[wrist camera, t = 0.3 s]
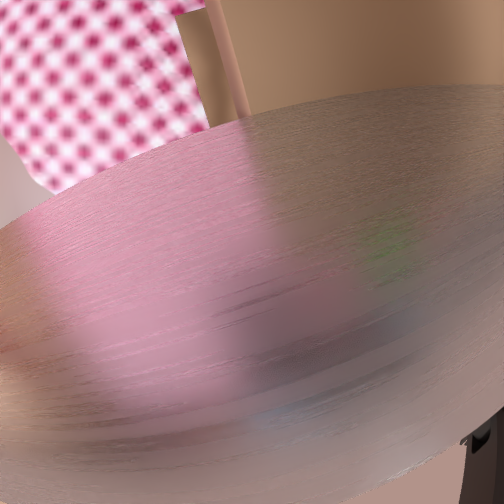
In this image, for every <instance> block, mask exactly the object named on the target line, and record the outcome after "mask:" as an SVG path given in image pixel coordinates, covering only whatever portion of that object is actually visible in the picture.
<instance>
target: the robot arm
mask: <svg viewBox="0 0 504 504" xmlns="http://www.w3.org/2000/svg"><path fill="white" fill-rule="evenodd" d="M466 440H467V441H466ZM465 441H466V443H465V445H467V451H466V460H465V469H464V476H463V483H462V489H461V494H460V500H459V504H504V406H503V407H502V408H501V409H500V410H499V411H498V412H496V413H495V414H494V415H493V416H492V417H490V418H489V419H488V420H487V421H485V422H484V423H483V424H482V425H480V426H479V427H478V428H477V429H475V430H474V431H473V432H471V433H470V434H469V435H467V436H466V437H464V438H463V439H462V440H461V442H460V445H462V444H463V443H464V442H465Z"/></svg>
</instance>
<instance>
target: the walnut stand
mask: <svg viewBox="0 0 504 504" xmlns="http://www.w3.org/2000/svg"><path fill="white" fill-rule="evenodd" d="M204 2H205V6H206V8H202V9H199V10H195V11H191V12H188V13H185V14H181V15H178V16H175V19H176V22H177V26H178V29H179V32H180V35H181V38H182V41H183V44H184V47H185V51H186V54H187V57H188V60H189V63H190V66H191V69H192V72H193V76H194V79H195V82H196V85H197V88H198V91H199V94H200V97H201V101H202V104H203V107H204V110H205V113H206V116H207V119H208V122H209V125H210V128H212V127H216V126H219V125H222V124H225V123H228V122H232V121H235V120H238V119H242V118H245V117H249V116H252V115H256V114H259V113H263V112H267V111H271V110H275V109H279V108H283V107H287V106H291V105H296V104H300V103H305V102H310V101H314V100H319V99H325V98H330V97H335V96H341V95H347V94H353V93H360V92H367V91H374V90H382V89H391V88H400V87H412V86H426V85H447V84H488V85H504V0H204Z"/></svg>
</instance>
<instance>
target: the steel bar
mask: <svg viewBox="0 0 504 504" xmlns="http://www.w3.org/2000/svg"><path fill="white" fill-rule="evenodd" d="M503 406H504V85H488V84H447V85H426V86H412V87H400V88H391V89H382V90H374V91H367V92H360V93H353V94H347V95H341V96H335V97H330V98H325V99H319V100H314V101H310V102H305V103H300V104H296V105H291V106H287V107H283V108H279V109H275V110H271V111H267V112H263V113H259V114H256V115H252V116H249V117H245V118H242V119H238V120H235V121H232V122H228V123H225V124H222V125H219V126H216V127H212V128H209V129H206V130H203V131H200V132H198V133H195V134H192V135H189V136H186V137H183V138H181V139H178V140H175V141H173V142H170V143H167V144H165V145H162V146H160V147H157V148H155V149H152V150H150V151H147V152H145V153H142V154H140V155H138V156H135V157H133V158H131V159H128V160H126V161H124V162H122V163H119V164H117V165H115V166H113V167H111V168H108V169H106V170H104V171H102V172H100V173H98V174H96V175H94V176H92V177H90V178H88V179H86V180H84V181H82V182H80V183H78V184H76V185H74V186H72V187H70V188H68V189H67V190H65V191H63V192H61V193H59V194H57V195H56V196H54V197H52V198H50V199H48V200H47V201H45V202H43V203H42V204H40V205H38V206H36V207H35V208H33V209H31V210H30V211H28V212H27V213H25V214H23V215H22V216H20V217H18V218H17V219H15V220H14V221H12V222H11V223H9V224H8V225H6V226H5V227H3V228H2V229H0V501H2V502H5V503H7V504H338V503H340V502H343V501H346V500H349V499H351V498H353V497H356V496H359V495H361V494H363V493H366V492H368V491H371V490H373V489H375V488H377V487H380V486H382V485H384V484H386V483H388V482H390V481H392V480H394V479H396V478H398V477H400V476H402V475H404V474H406V473H408V472H410V471H411V470H414V469H415V468H417V467H419V466H421V465H422V464H424V463H426V462H427V461H429V460H431V459H433V458H434V457H436V456H437V455H439V454H441V453H442V452H444V451H445V450H447V449H448V448H450V447H451V446H453V445H454V444H456V443H457V442H459V441H460V440H462V439H463V438H464V437H466V436H467V435H469V434H470V433H471V432H473V431H474V430H475V429H477V428H478V427H479V426H480V425H482V424H483V423H484V422H485V421H487V420H488V419H489V418H490V417H492V416H493V415H494V414H495V413H496V412H498V411H499V410H500V409H501V408H502V407H503Z"/></svg>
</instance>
